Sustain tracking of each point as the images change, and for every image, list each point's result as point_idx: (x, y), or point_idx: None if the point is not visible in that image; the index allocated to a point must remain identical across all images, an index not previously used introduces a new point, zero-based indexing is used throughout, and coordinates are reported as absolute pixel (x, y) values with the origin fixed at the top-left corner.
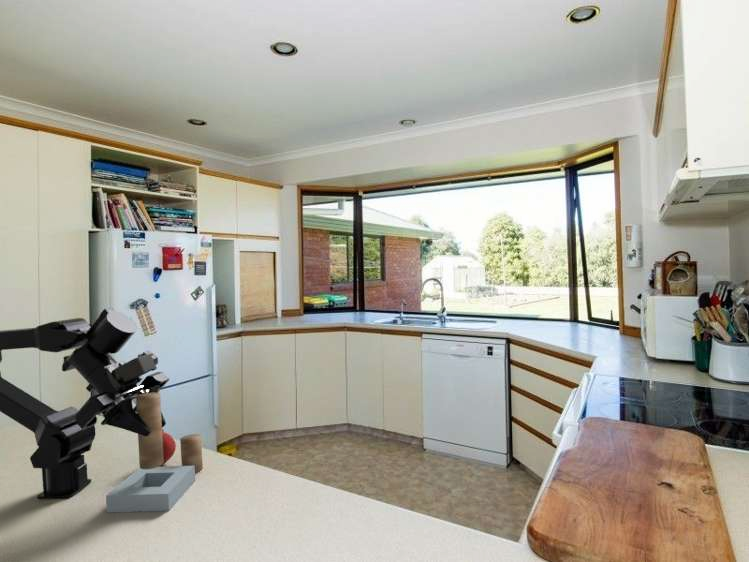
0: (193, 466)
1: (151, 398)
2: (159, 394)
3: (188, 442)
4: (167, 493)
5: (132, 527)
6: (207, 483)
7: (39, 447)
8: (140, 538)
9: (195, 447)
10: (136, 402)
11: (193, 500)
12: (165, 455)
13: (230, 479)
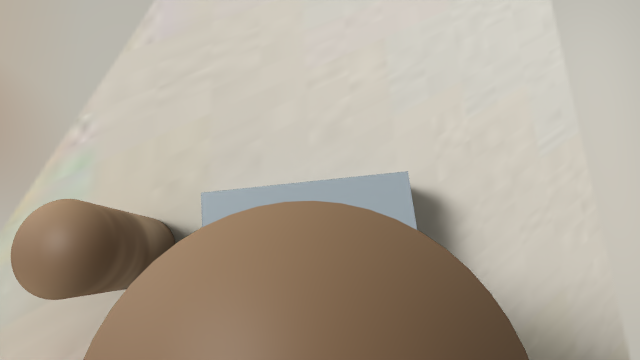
0: (208, 192)
1: (446, 255)
2: (226, 226)
3: (113, 234)
4: (406, 174)
5: (484, 236)
6: (235, 152)
7: None
8: (524, 182)
9: (116, 212)
10: None
11: (336, 143)
12: None
13: (210, 94)
